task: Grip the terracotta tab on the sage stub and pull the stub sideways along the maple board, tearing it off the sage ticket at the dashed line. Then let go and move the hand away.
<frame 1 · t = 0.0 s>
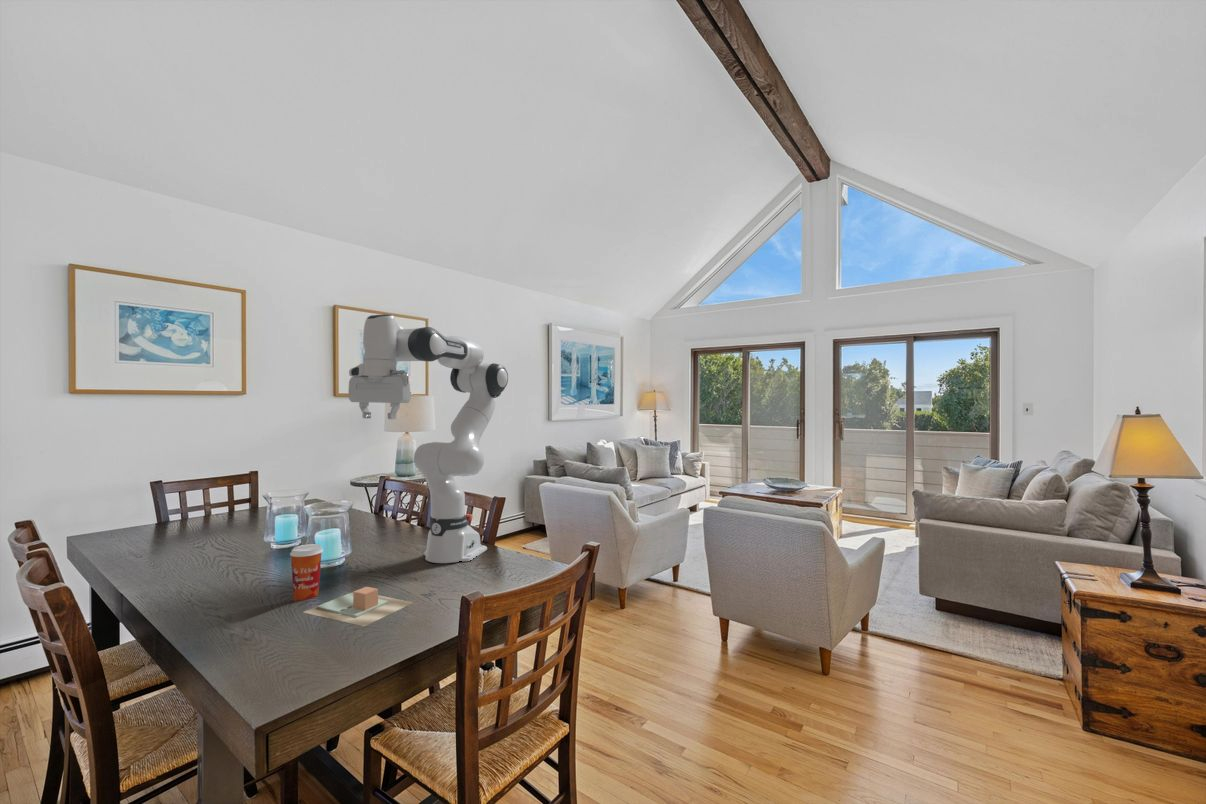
hand: (379, 418, 150), 48 cm above the table, tool pointing down, fingers open, 8 cm apart
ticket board: (359, 611, 133), on the table
paper cup: (306, 600, 140), on the table
stub: (365, 599, 132), point 3 cm above the table, slide at 0.0 cm
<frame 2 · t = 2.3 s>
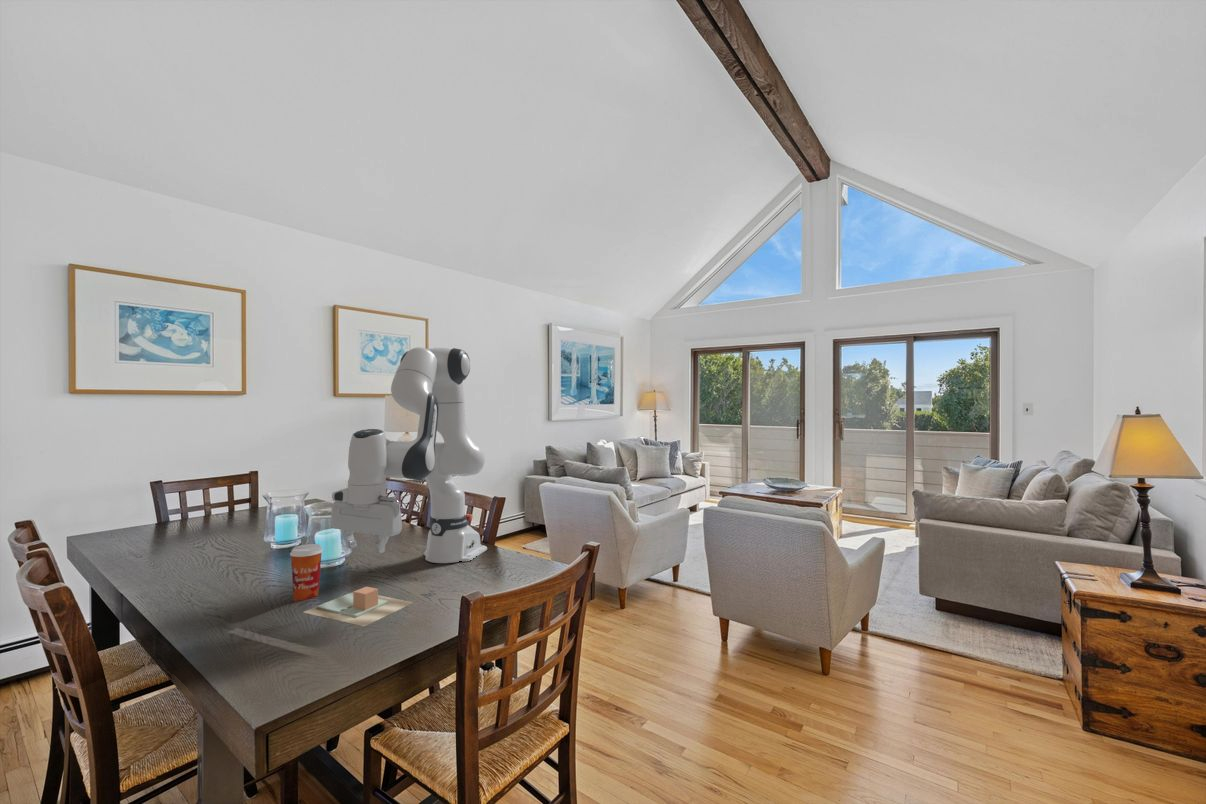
hand: (365, 549, 132), 16 cm above the table, tool pointing down, fingers open, 8 cm apart
nothing on the table moved.
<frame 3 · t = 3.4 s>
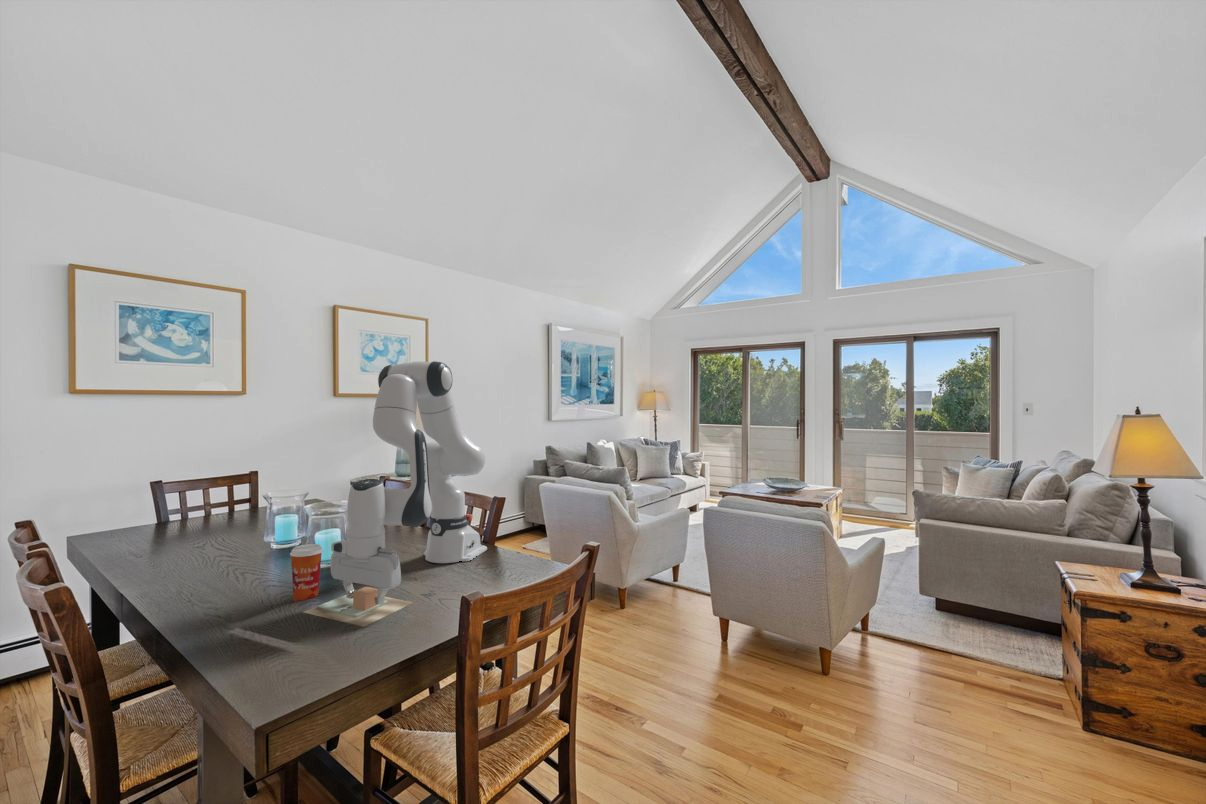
hand: (365, 600, 132), 3 cm above the table, tool pointing down, fingers open, 8 cm apart
nothing on the table moved.
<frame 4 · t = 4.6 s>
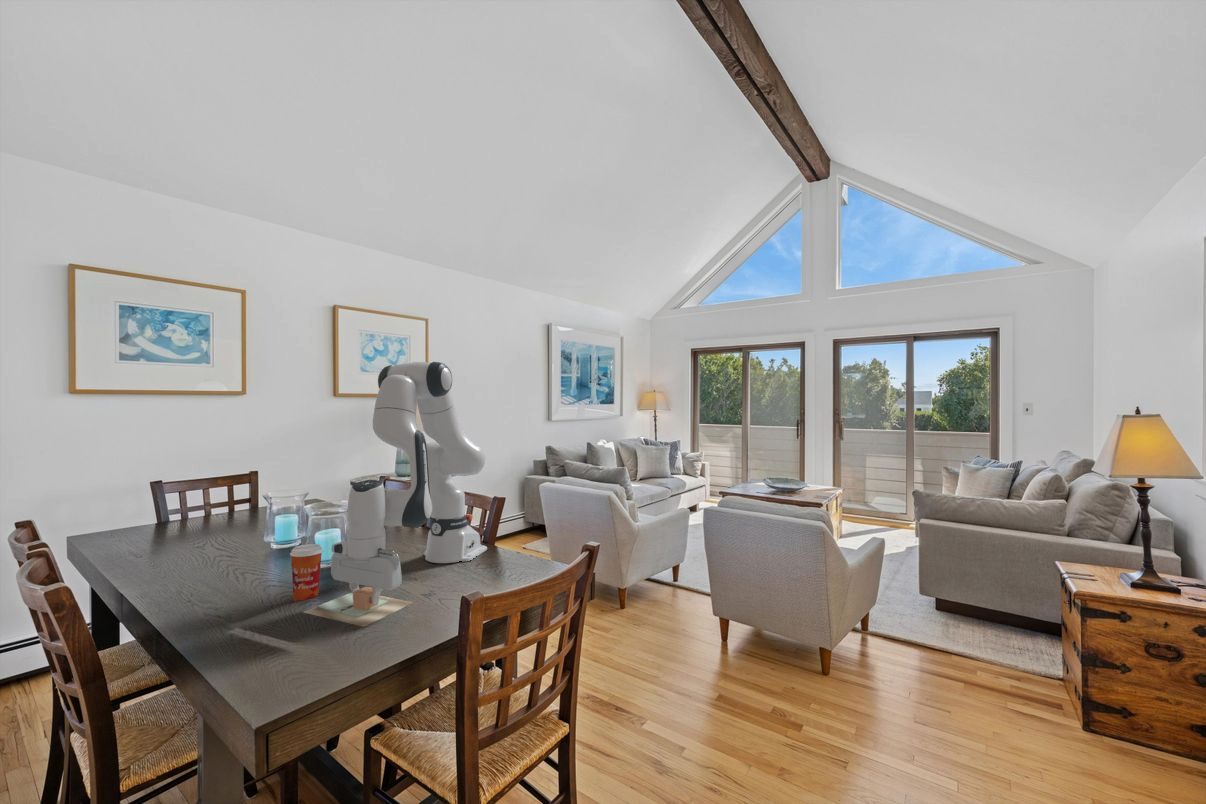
hand: (365, 601, 132), 3 cm above the table, tool pointing down, fingers closed on stub, 4 cm apart
stub: (365, 599, 132), point 3 cm above the table, slide at 0.0 cm, touching gripper
everything else where it was.
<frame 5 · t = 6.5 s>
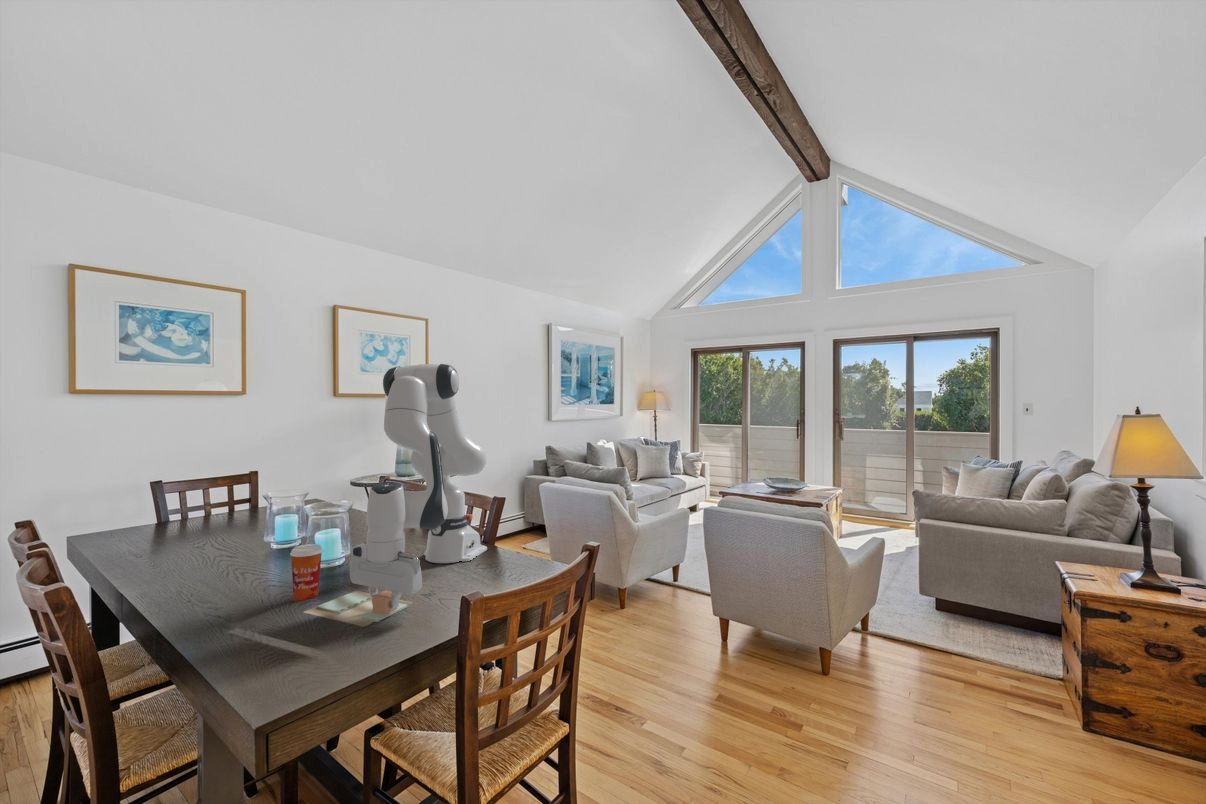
hand: (385, 605, 129), 3 cm above the table, tool pointing down, fingers closed on stub, 4 cm apart
stub: (385, 603, 129), point 3 cm above the table, slide at 6.4 cm, touching gripper
everything else where it was.
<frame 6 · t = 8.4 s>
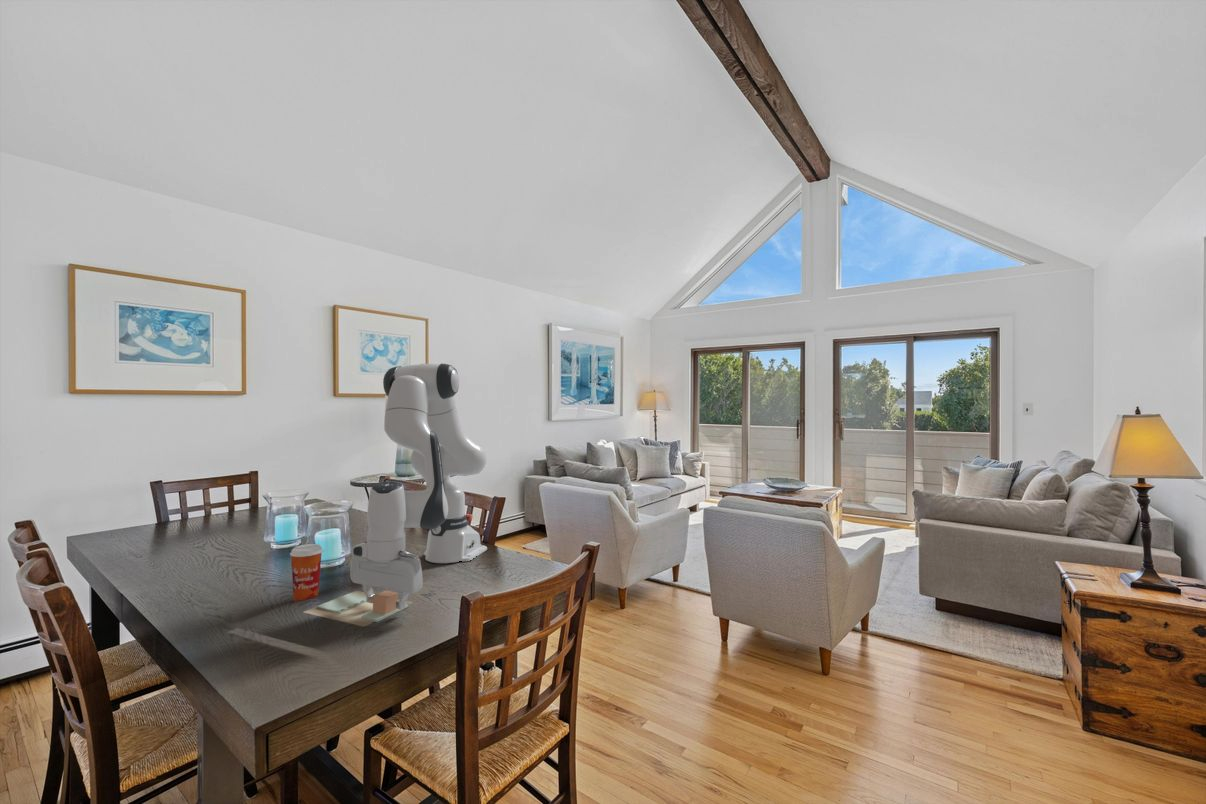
hand: (385, 605, 129), 3 cm above the table, tool pointing down, fingers open, 8 cm apart
stub: (385, 603, 129), point 3 cm above the table, slide at 6.5 cm
everything else where it was.
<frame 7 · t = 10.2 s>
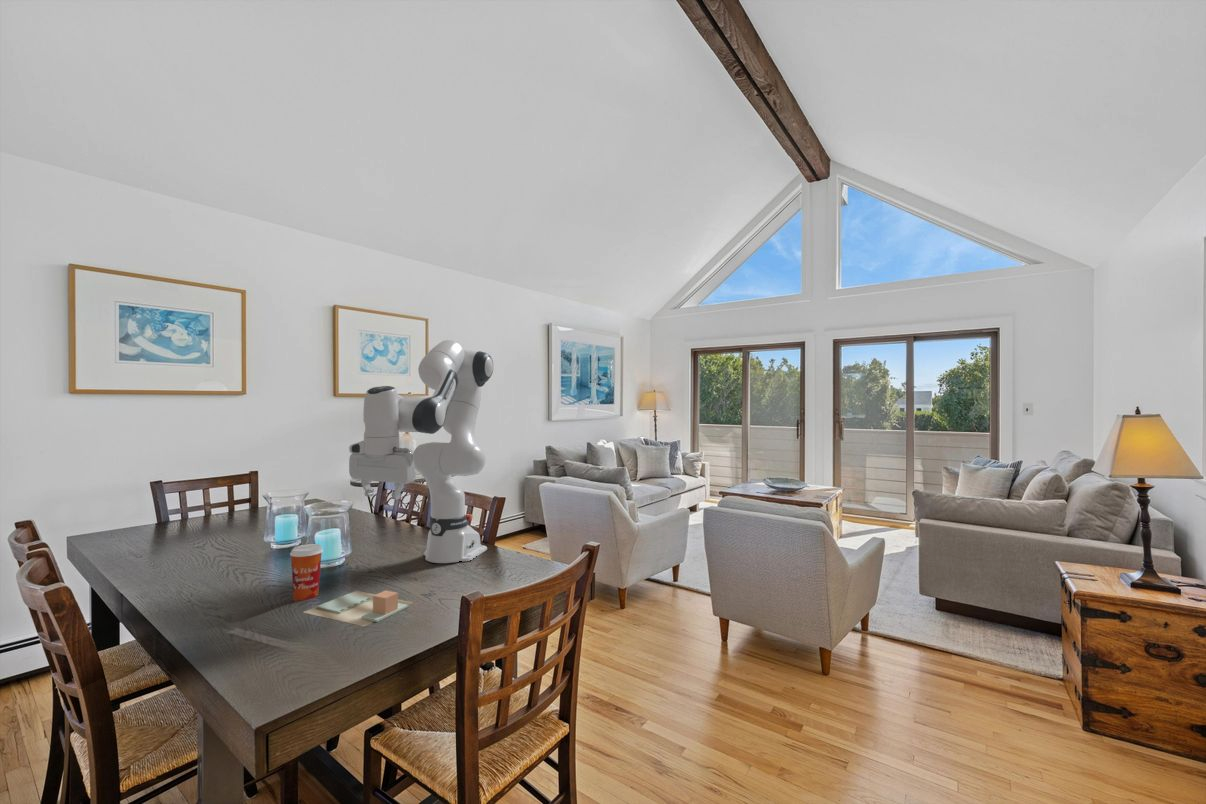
hand: (382, 497, 142), 27 cm above the table, tool pointing down, fingers open, 8 cm apart
nothing on the table moved.
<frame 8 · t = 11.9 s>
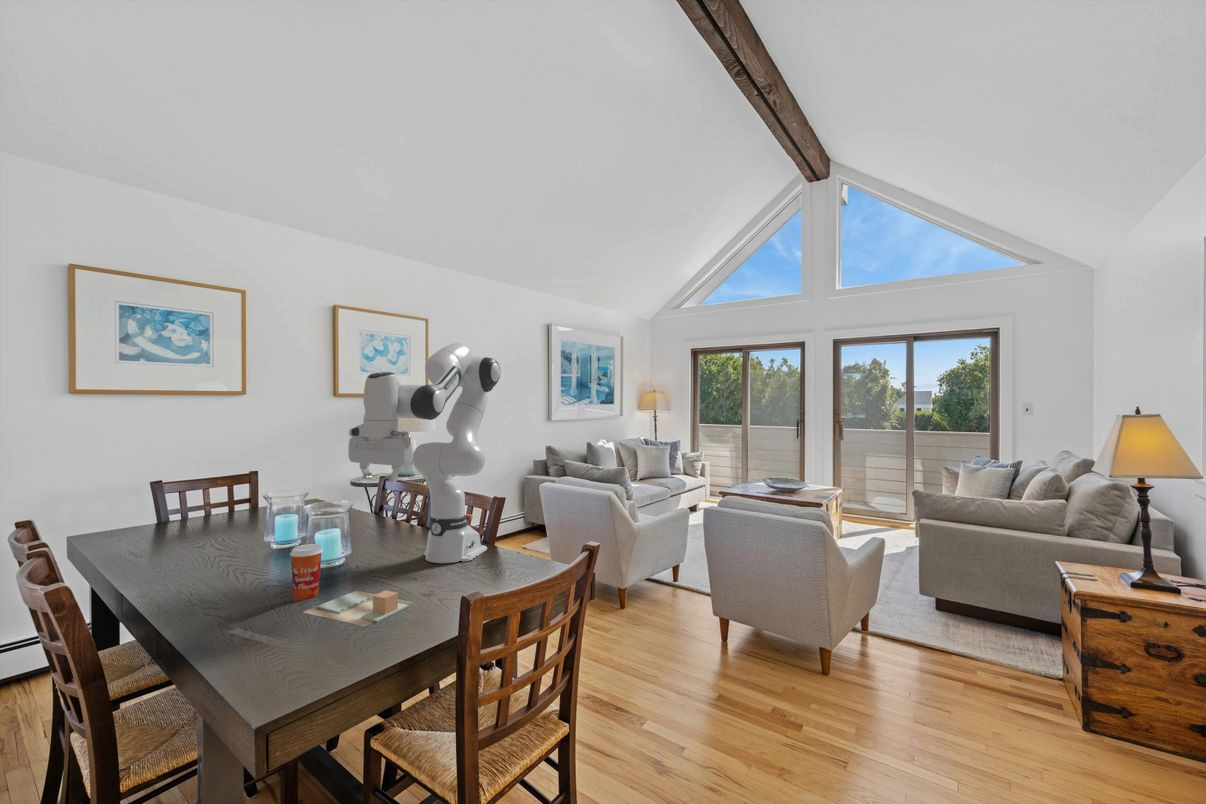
hand: (380, 480, 146), 31 cm above the table, tool pointing down, fingers open, 8 cm apart
nothing on the table moved.
at the end: stub slide at 6.5 cm; the gripper is holding nothing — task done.
